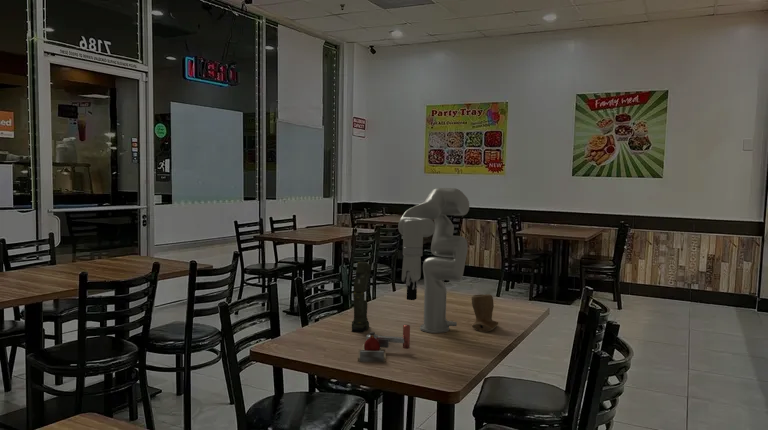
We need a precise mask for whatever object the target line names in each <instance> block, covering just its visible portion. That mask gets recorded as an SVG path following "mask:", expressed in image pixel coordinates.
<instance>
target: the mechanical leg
mask: <svg viewBox="0 0 768 430" xmlns="http://www.w3.org/2000/svg"><path fill="white" fill-rule="evenodd" d="M371 267H372V266H371V264H370V263H369V262H365V261H357V264H356V269H355V277H354V280H353V281H354V282H353V294H352V295H353V320H352V321H351V333H362V334H363V333H364V332H366V331H367V330H369V327H370V322H369V320H368V301H367V300H366V299H365V292H366V291H367V290H368V285H369V277H370V274H371V270H372V268H371Z"/></svg>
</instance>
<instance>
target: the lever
mask: <svg viewBox="0 0 768 430" xmlns="http://www.w3.org/2000/svg"><path fill="white" fill-rule="evenodd" d="M365 336H366V340H367V339H369V338H370V337H371V335H370V333H368V334H366V335H365ZM373 336H374V338H376V339H377V340H378V342H379V344H380V347H381V349H385V348H386V349H388V348H389V347H390V346H389V345H390V344H389V343H394V344H396V343H397V344H402V349H404V350H405V349H406V350H407V349H410V348H411V346H410V343H411V342H410V340H411V325H410V324H403V325H402V336H391V335H390V336H389V335H378V334H376V333H375V335H373ZM366 340H365V341H366Z"/></svg>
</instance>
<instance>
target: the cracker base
mask: <svg viewBox="0 0 768 430" xmlns="http://www.w3.org/2000/svg"><path fill="white" fill-rule="evenodd" d="M369 334H370V335H375V334H376V333H375V332H374V331H370V332H369ZM364 344H365V343H363V344H362V348H358V351H357V362H367V363H369V362H372V363H373V362H375V363H376V362H377V363H379V362H381V363H382V362H383V363H385V362H387V355H386V352H387V351H386V349H385V348H381V347H380V350H379V351H365V350H364Z"/></svg>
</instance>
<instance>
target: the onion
mask: <svg viewBox="0 0 768 430" xmlns="http://www.w3.org/2000/svg"><path fill="white" fill-rule="evenodd" d="M363 344H364V350H365V351H379V350H380V344H379V342H378V340H377V339H376V338H374V336H373V335H371V337H370V338H369V339H367V340H365V341H364V343H363Z"/></svg>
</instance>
